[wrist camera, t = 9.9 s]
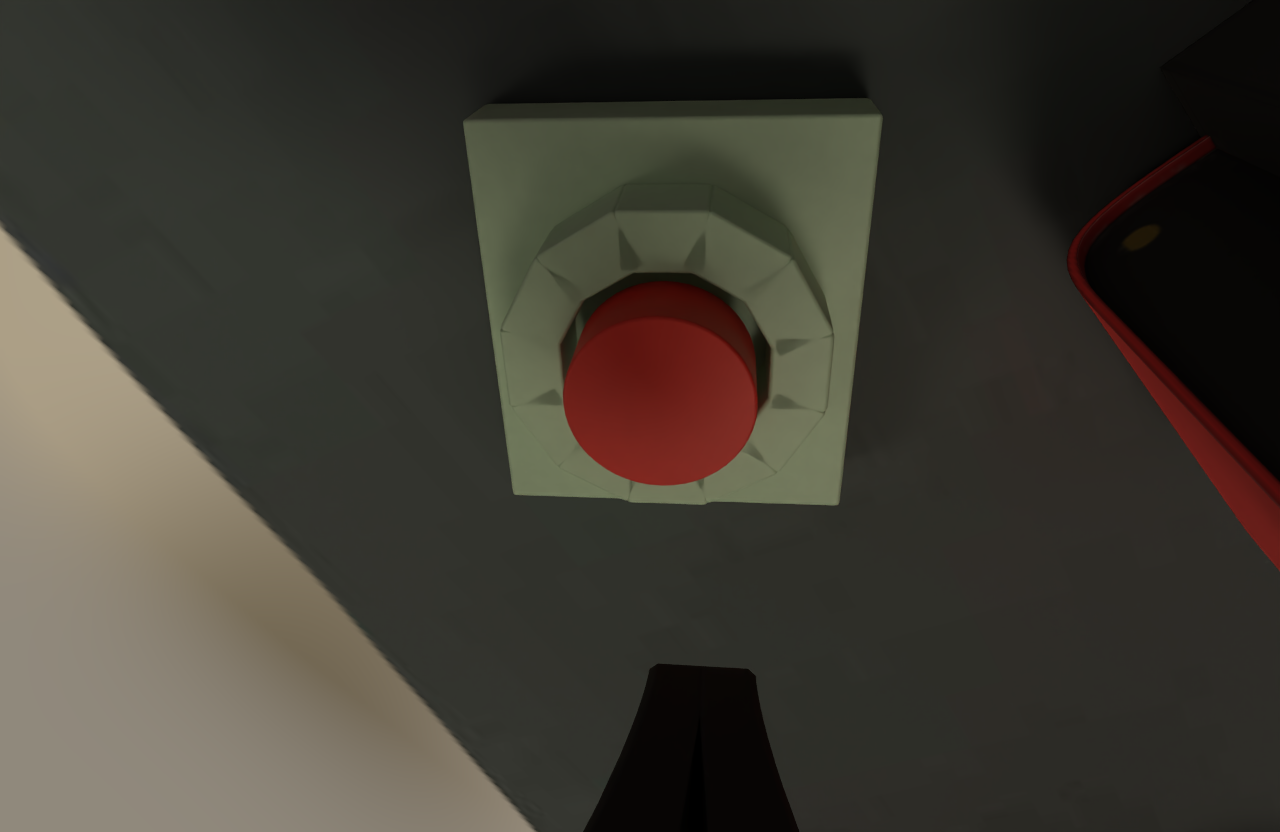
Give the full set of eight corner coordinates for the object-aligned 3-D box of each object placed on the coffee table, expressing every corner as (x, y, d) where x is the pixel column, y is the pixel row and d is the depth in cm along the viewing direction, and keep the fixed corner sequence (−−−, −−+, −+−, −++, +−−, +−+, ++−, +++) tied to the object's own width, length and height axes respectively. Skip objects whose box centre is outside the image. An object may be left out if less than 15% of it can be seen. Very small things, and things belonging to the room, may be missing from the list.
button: (759, 280, 16) (762, 318, 14) (752, 441, 17) (754, 489, 16) (571, 279, 16) (554, 315, 14) (583, 436, 18) (569, 484, 16)
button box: (871, 97, 17) (901, 135, 14) (832, 466, 21) (848, 556, 18) (483, 103, 17) (431, 140, 14) (527, 458, 22) (494, 542, 19)
